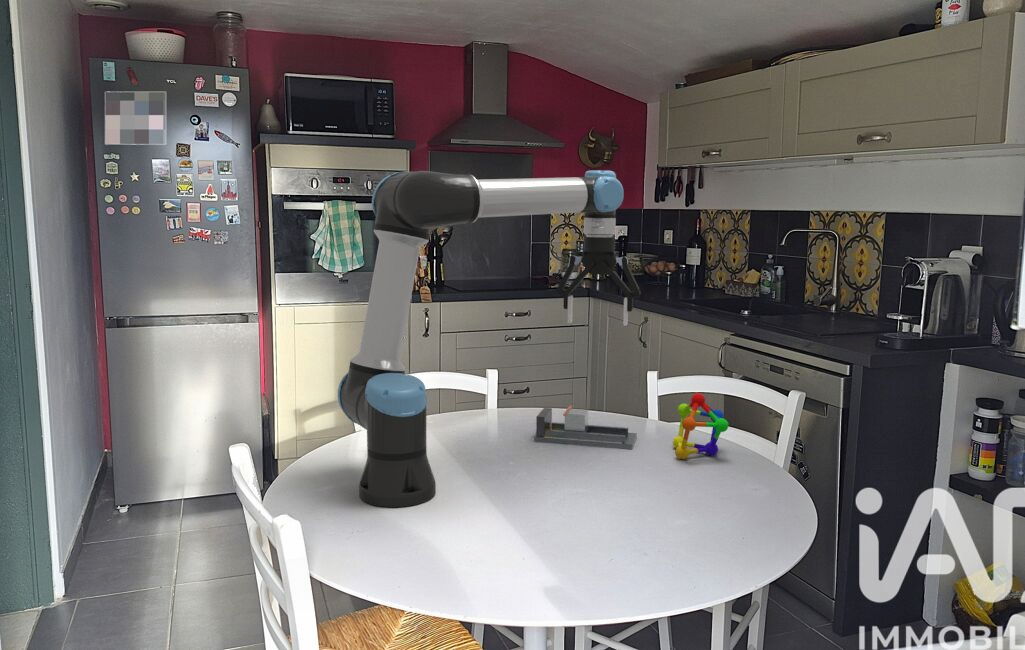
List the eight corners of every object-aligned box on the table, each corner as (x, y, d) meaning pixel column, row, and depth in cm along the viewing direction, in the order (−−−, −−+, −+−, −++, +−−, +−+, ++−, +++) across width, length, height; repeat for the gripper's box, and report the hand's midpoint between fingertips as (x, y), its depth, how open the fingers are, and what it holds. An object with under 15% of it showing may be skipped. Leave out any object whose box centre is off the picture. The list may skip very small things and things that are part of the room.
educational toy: (734, 467, 185) (740, 404, 181) (678, 468, 184) (682, 405, 180) (713, 441, 200) (718, 382, 196) (661, 442, 199) (665, 383, 195)
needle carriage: (562, 436, 198) (563, 414, 198) (569, 426, 207) (570, 405, 206) (583, 438, 197) (583, 415, 196) (589, 428, 206) (589, 406, 205)
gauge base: (533, 441, 200) (534, 416, 199) (542, 430, 210) (542, 407, 209) (632, 449, 194) (633, 424, 193) (636, 437, 204) (637, 413, 203)
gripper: (545, 235, 195) (544, 323, 199) (650, 237, 189) (647, 328, 192) (551, 234, 203) (550, 319, 206) (653, 236, 197) (650, 323, 200)
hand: (597, 323), depth 199 cm, fingers open, 13 cm apart
